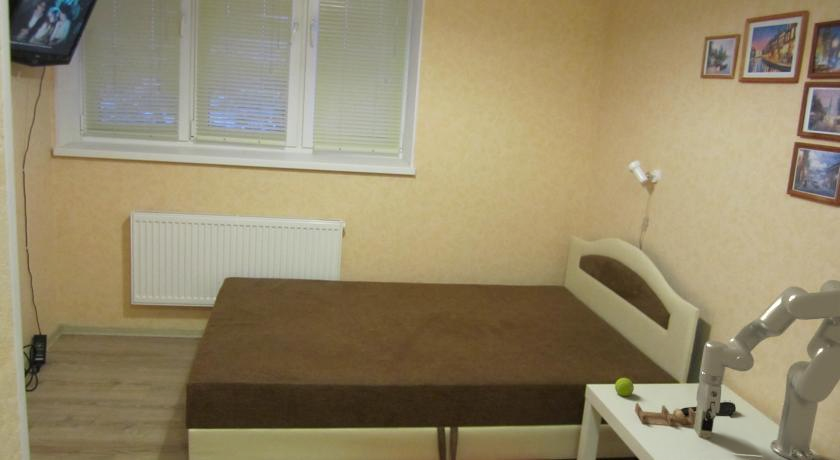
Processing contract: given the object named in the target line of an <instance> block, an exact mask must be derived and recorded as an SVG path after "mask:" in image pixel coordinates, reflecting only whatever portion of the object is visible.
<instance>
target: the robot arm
mask: <svg viewBox="0 0 840 460" xmlns="http://www.w3.org/2000/svg"><path fill="white" fill-rule="evenodd" d="M819 319H823V320H822V321H821V323H820V324H819V326H818V328H817V329H816V332H815V333H814V334H813V335H812V338H811V339H810V341H809V342H808V343H807V346H806V352H807V355H808V357H809V358H810V359H811V360H810V361H807V360H800V361H795V362H794V363H792V365H790V366H789V368H788V370H787V374H786V381H785V393H784V394H785V395H784V401H783V405H782V410H781V418H780V421H779V428H778V433H777V438H776V439H775V440H772V441H771V442H770V448H771V449H772V451H773V452H774V453H776V454H777V455H779V456H780V457H782V458H785V459H788V460H813V459H814V456H815V455H814V452H813V451H812V450H811V447H810V446H811V441H812V436H813V432H814V425H815V421H816V415H817V411H818V405H819V403H821V402H823V401H824V400H826V399H827V398H828V397H829V396H830V395H831V394H832V392H833V390H834V388H835V387H836V386H837V385H838V383H839V381H840V280H836V279H830V280H827V281H825V282H823V283H822V285H821V286H820V289H819V291H817V292H808V291H807V290H805V289H803V288H802V287H799V286H790V287H787V288H786V289H784V290H783V291H782V292H781V293H780V294H779V295H778V296H777V297H776V298H775V299H774V300H773V302H772V303H771V304H770V305H769V306H768V307H767V308H766V309H765V310H764V311H763V312H762V313H761V314H760V315H759V316H758V317H757V318H755V319H754V320H752V321H750V322H749V323H746V325H744V326H743V327H742V328H741V329H739V331H738V332H736V334H735V335H734V336H732V337H731V338H730V340H729V341H728V342H727V344H725V343H724V342H721V341H718V340H708V341H706V342H705V343H704V345H703V350H702V358H701V363H700V369H699V375H698V380H699V381H698V386H697V391H696V396H695V397H696V398H695V399H696V402H698V403H699V404H700V405H701V407H702V408H703V410H704V411H705V412H704V419H703V422H702V428H701V429H702V430H703V431H711V430H712V425H713V426H714V422H713V421H715V419H716V417H717V416H716V413H719V408H720V402H721V399H722V385H723V383H724V377H725V372H726V368H729V369H730V370H734V371H738V372H749V371H750V370H752V368H753V367H754V365H755V359H754V356H753V355H752V351H753V350H754V349H755V348H756V347H757V346H758V345H759V344H761V343H762V342H763V341H764V340H766V339H770V338H776V337H780V336H781V335H783V334H784V333H785V332H786V331H787V330H788V329H789V327H791V325H793V323H794V322H796V321H797V320H803V321H807V320H808V321H809V320H819ZM695 407H696V408H697V406H695ZM707 409H710V411H707ZM707 413H711V414H710V415H708V416H707ZM695 417H696V415H695ZM712 431H713V430H712Z"/></svg>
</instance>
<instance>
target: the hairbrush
mask: <svg viewBox="0 0 840 460" xmlns="http://www.w3.org/2000/svg"><path fill="white" fill-rule="evenodd" d="M696 407H697V406H689V407H688V406H687V407H682V408H679V409H680V410H681V411H682V412H683V414H684V415H688V414H689V412H688V411H689V408H692V410H693V411H694V412H695V413H696V409H697V408H696ZM736 407H737V406H736V404H735V402H731V400H730V399H729V401H726V400H720V408H719V413H716V417H730V416H732V415H733V414H734V413H735V412H736V410H737V409H736Z"/></svg>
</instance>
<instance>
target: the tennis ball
mask: <svg viewBox="0 0 840 460" xmlns="http://www.w3.org/2000/svg"><path fill="white" fill-rule="evenodd" d="M614 390H615V392H616V394H618V395H619V396H622V397H629V396H631V395H632V394H633V392H634V390H635V387H634V383H633V381H631V380H630V379H629V378H626V377H621V378H619V379H617V380H616V381H615V385H614Z"/></svg>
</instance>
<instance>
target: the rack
mask: <svg viewBox="0 0 840 460" xmlns="http://www.w3.org/2000/svg"><path fill="white" fill-rule="evenodd" d="M634 408H635V409H634V412H635V414H636V415H637V417H638V419H639V421H640V422H641V424H643V425H653V426H661V427H662V426H664V427H665V426H666V427H674V428H683V429H684V428H685V429H686V428H687V429H694V425H695V415H696V412H694V411H693V410H692V408H689V411H688V412H689V414H687V415H685V417H686V418H687V419H688V423H687V424H686V425H681V424H680V423H679V421H678V420H677V418H676V417H675V415H674V414H673V413H670V411H669V410H668V409H667V407H666V406H665V405H661V412H656V411H655V412H654V411H644V410H643V409H642V408H641V406H640V404H639V403H638V402H636V403H635V407H634Z"/></svg>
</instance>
